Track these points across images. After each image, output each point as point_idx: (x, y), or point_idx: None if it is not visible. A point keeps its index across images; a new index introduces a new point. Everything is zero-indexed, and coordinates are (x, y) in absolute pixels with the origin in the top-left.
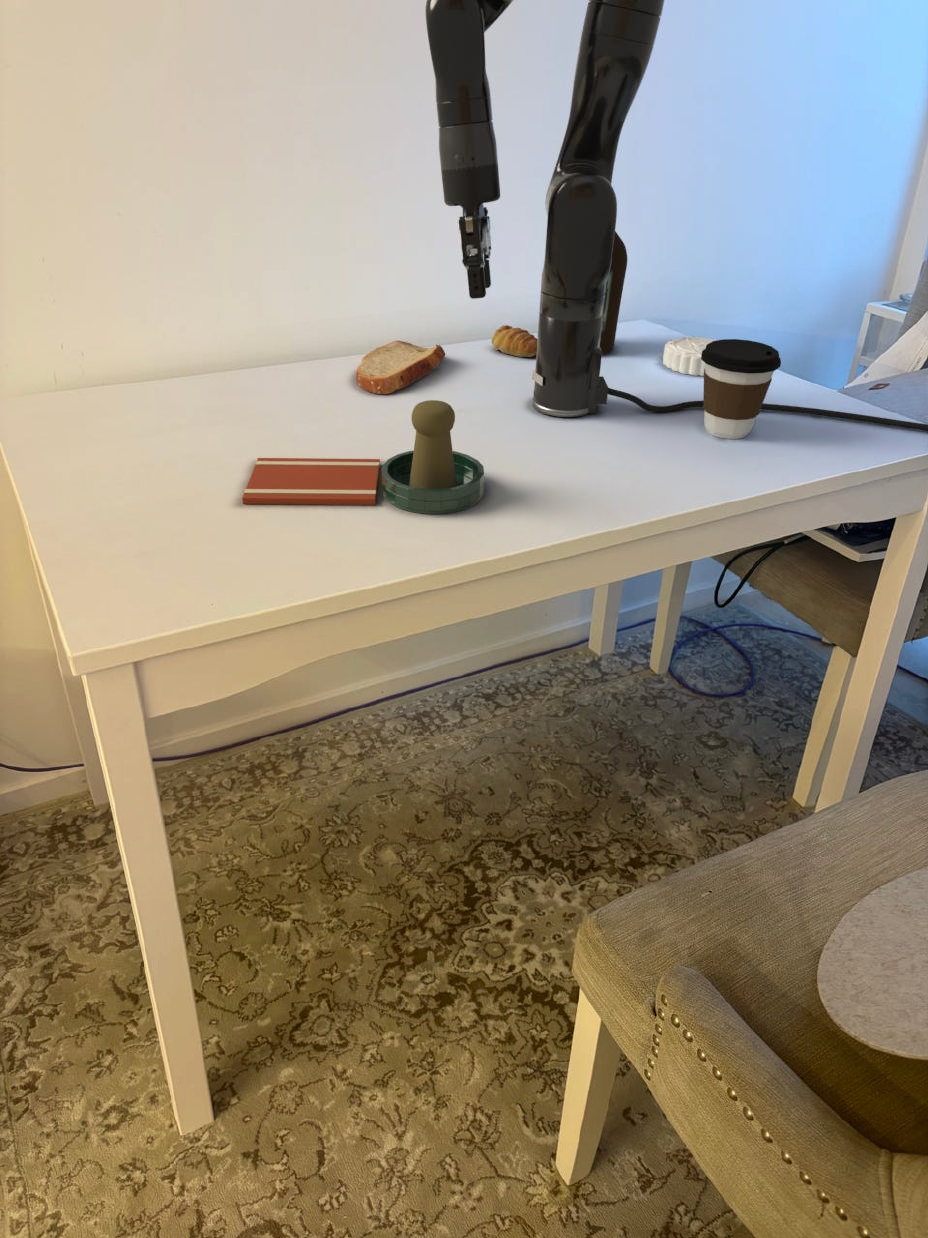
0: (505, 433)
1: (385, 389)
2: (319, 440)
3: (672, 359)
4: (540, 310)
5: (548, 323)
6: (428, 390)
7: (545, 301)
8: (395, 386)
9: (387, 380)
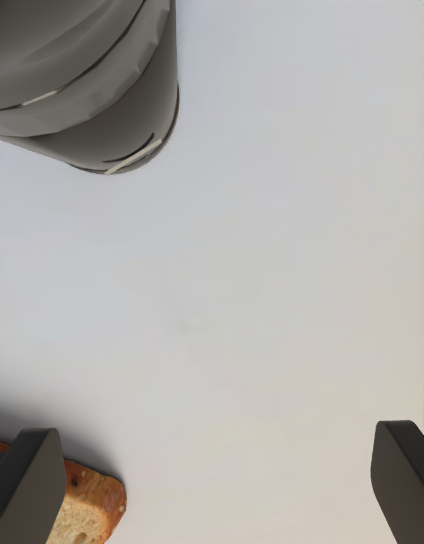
0: (287, 220)
1: (120, 493)
2: (365, 527)
3: None
4: (62, 127)
5: (140, 90)
6: (72, 412)
7: (98, 86)
8: (100, 480)
9: (108, 504)
